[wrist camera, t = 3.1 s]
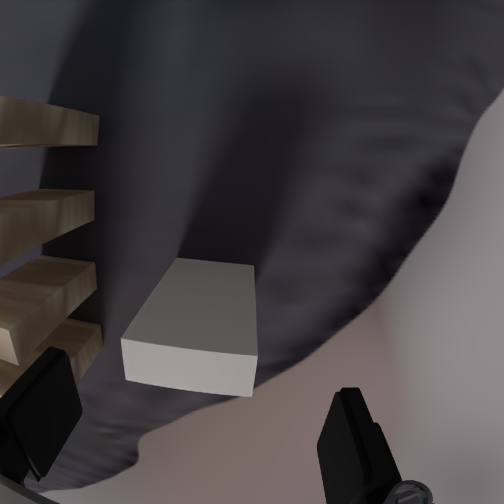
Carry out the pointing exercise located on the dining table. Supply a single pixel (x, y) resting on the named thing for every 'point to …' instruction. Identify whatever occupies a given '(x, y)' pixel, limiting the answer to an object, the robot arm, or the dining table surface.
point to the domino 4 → (63, 337)
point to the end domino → (196, 330)
